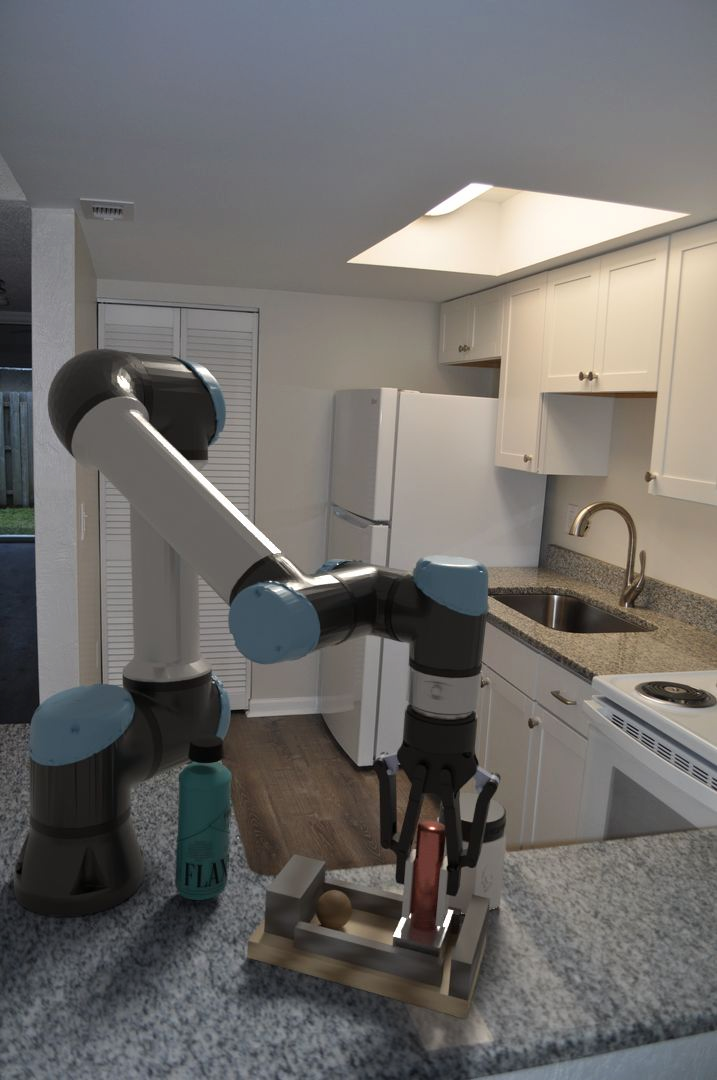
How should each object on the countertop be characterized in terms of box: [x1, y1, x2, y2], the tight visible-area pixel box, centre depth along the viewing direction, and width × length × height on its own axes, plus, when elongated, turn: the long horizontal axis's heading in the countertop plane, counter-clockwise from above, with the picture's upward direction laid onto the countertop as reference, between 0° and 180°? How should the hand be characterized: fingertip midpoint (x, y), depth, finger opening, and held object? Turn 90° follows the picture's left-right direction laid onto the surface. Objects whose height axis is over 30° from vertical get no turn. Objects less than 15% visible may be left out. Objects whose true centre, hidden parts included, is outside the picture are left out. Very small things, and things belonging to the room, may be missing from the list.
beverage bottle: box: [173, 735, 233, 901], centre depth 97 cm, size 6×7×20 cm
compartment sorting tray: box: [246, 853, 490, 1020], centre depth 90 cm, size 24×12×7 cm, turn 72°
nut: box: [316, 890, 352, 929], centre depth 91 cm, size 4×4×4 cm
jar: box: [436, 792, 507, 914], centre depth 101 cm, size 9×8×12 cm
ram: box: [393, 820, 453, 958], centre depth 87 cm, size 5×7×14 cm
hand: (424, 914), depth 87 cm, fingers closed on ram, 3 cm apart
